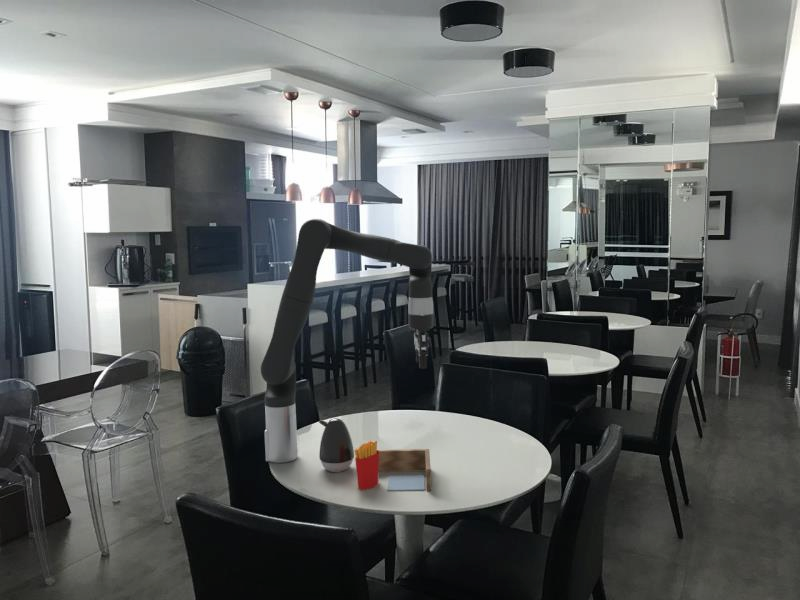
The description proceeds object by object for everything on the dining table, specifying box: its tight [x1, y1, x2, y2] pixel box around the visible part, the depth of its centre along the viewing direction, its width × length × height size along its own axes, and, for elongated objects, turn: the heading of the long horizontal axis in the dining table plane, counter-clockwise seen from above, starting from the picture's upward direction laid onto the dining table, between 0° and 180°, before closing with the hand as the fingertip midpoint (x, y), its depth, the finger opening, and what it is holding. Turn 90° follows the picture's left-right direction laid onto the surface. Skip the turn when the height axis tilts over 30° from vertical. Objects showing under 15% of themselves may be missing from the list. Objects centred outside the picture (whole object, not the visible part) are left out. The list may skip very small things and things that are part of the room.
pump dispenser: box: [318, 417, 355, 473], centre depth 193 cm, size 10×10×15 cm
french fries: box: [354, 440, 379, 491], centre depth 180 cm, size 8×4×12 cm, turn 143°
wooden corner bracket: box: [377, 448, 432, 492], centre depth 184 cm, size 20×16×6 cm
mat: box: [386, 474, 426, 492], centre depth 182 cm, size 10×10×1 cm
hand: (421, 365), depth 199 cm, fingers open, 8 cm apart
